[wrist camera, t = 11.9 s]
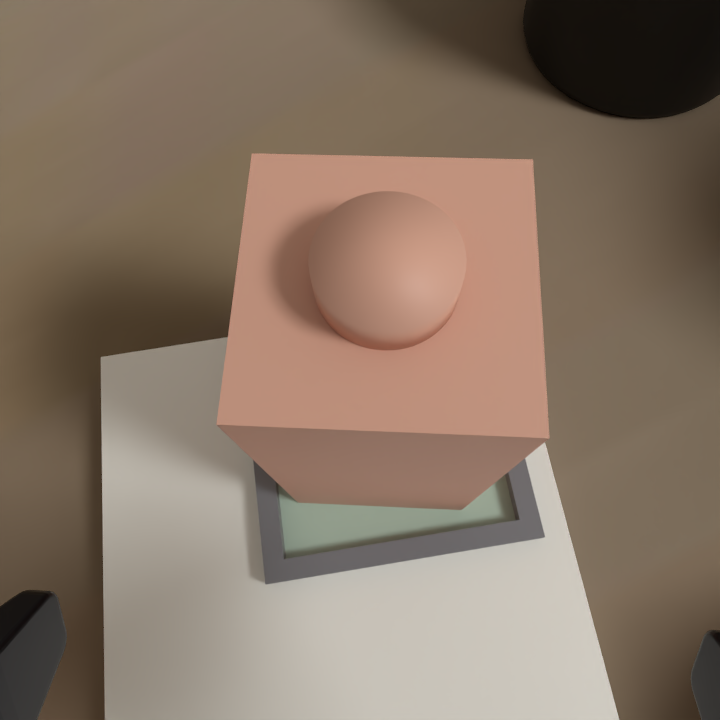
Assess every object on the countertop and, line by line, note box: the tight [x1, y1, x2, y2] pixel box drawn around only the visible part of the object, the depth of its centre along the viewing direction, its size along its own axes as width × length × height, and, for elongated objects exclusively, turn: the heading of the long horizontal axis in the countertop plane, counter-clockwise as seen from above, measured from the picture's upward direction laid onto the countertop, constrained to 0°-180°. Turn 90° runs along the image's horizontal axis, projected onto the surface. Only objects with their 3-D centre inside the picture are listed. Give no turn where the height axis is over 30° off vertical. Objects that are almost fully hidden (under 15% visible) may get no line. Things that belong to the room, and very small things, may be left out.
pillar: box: [216, 154, 549, 510], centre depth 14 cm, size 5×5×11 cm
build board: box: [101, 337, 619, 720], centre depth 18 cm, size 20×14×2 cm
